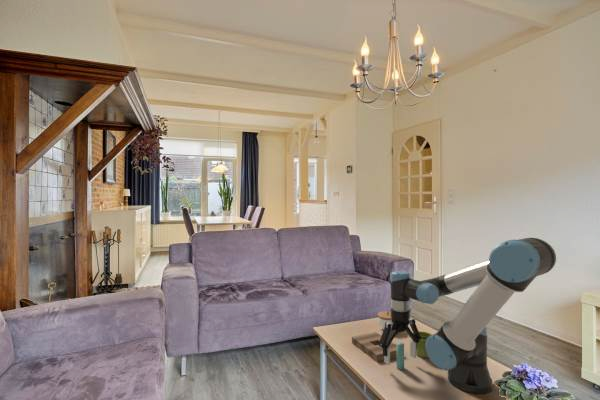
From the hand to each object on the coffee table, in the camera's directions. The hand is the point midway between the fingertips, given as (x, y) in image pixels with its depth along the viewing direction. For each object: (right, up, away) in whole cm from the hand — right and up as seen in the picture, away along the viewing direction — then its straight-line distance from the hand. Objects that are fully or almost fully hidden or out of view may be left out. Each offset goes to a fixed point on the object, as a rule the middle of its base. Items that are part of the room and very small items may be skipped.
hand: (400, 360), depth 135 cm
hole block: (-6, -3, +17) cm, 18 cm away
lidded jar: (+6, -3, +40) cm, 41 cm away
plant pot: (+14, -3, +11) cm, 18 cm away
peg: (0, -3, 0) cm, 3 cm away
